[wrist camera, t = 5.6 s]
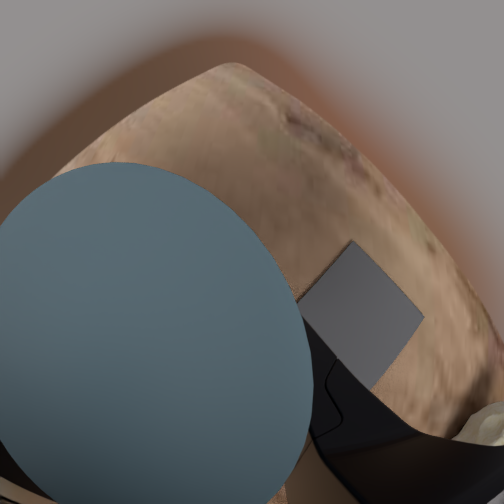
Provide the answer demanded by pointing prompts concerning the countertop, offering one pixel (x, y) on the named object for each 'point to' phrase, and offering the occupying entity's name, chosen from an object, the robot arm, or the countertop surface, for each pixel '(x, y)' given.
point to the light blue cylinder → (147, 344)
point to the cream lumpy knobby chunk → (484, 426)
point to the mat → (360, 314)
